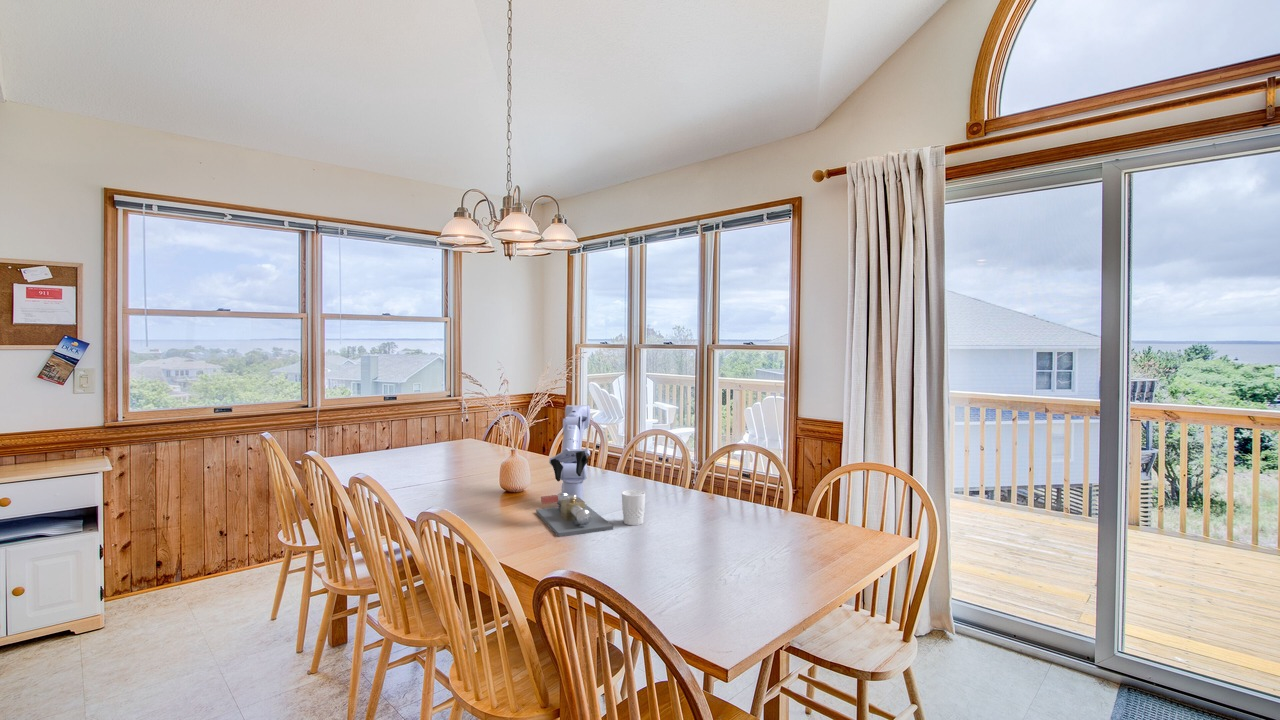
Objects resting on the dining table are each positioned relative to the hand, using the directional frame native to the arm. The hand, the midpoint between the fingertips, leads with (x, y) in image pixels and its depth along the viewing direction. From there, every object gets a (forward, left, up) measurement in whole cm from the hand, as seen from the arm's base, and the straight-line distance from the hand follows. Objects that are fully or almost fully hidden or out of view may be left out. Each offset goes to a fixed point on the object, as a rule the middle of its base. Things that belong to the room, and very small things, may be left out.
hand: (568, 477), depth 192 cm
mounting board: (-1, +2, -15) cm, 15 cm away
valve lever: (-1, -3, -8) cm, 8 cm away
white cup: (+9, +20, -16) cm, 27 cm away
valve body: (-1, +2, -14) cm, 14 cm away
